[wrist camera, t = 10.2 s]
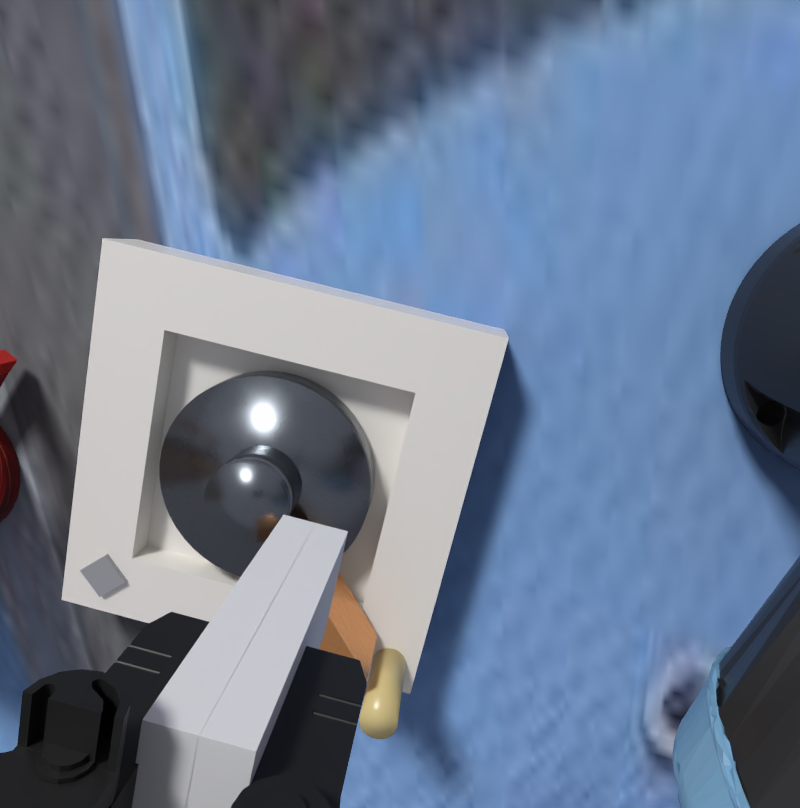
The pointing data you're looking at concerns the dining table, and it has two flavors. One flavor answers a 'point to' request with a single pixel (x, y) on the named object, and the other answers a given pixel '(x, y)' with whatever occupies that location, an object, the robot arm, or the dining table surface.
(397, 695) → the housing
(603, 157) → the dining table surface
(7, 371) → the mug
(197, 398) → the dial
